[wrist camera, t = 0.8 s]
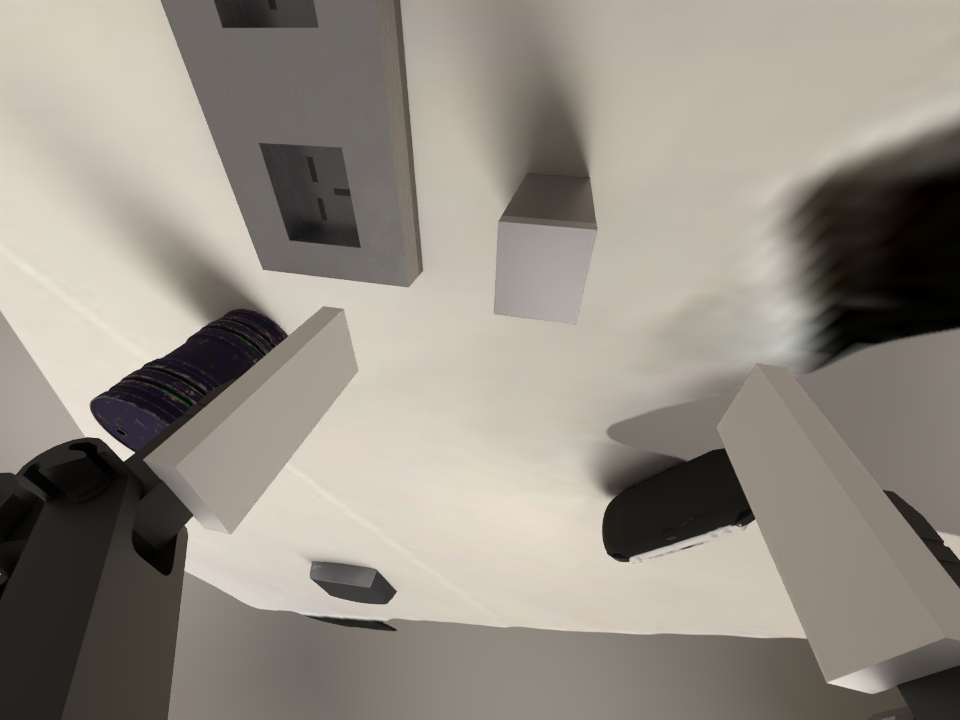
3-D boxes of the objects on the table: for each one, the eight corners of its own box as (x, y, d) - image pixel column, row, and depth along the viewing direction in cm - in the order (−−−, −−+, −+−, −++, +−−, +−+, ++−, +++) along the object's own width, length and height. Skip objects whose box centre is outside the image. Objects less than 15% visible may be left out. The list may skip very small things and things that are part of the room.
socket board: (377, -256, 16) (338, -325, 14) (422, 270, 32) (408, 287, 30) (132, -222, 19) (56, -275, 16) (287, 255, 35) (263, 269, 32)
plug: (589, 177, 25) (597, 229, 16) (576, 247, 28) (576, 324, 19) (526, 173, 26) (498, 221, 16) (520, 241, 29) (493, 314, 20)
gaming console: (597, 497, 47) (611, 507, 47) (595, 563, 40) (612, 575, 40) (739, 428, 36) (757, 443, 36) (772, 504, 29) (793, 521, 29)
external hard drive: (311, 558, 88) (301, 575, 85) (376, 565, 81) (368, 585, 78) (337, 581, 95) (329, 599, 92) (399, 590, 88) (392, 609, 85)
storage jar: (279, 310, 39) (155, 403, 28) (310, 378, 45) (217, 477, 34) (207, 305, 41) (62, 390, 30) (245, 371, 47) (137, 462, 36)
